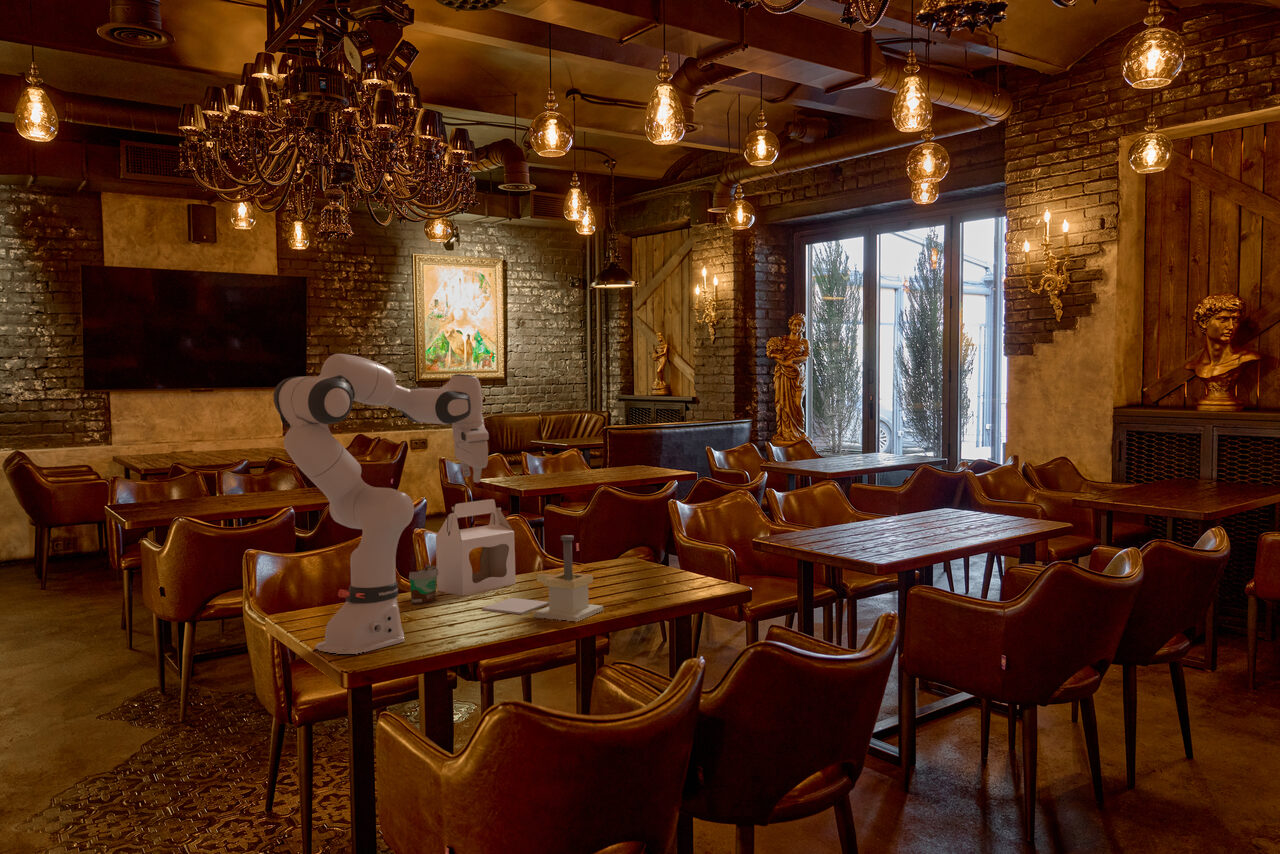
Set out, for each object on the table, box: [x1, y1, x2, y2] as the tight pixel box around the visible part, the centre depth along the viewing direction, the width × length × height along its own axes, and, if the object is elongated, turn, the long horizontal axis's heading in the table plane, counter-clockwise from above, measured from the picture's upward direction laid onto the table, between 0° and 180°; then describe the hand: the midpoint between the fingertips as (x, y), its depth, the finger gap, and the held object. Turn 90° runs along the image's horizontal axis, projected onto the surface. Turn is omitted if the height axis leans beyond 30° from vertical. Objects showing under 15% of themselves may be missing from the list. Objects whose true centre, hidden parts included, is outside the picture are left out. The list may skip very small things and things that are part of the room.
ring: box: [536, 571, 594, 589], centre depth 255 cm, size 10×15×2 cm, turn 62°
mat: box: [481, 597, 549, 615], centre depth 264 cm, size 14×14×1 cm
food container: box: [408, 564, 439, 606], centre depth 273 cm, size 12×6×10 cm, turn 168°
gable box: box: [435, 498, 517, 597], centre depth 291 cm, size 22×13×28 cm, turn 140°
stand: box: [533, 534, 604, 623], centre depth 253 cm, size 14×14×22 cm
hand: (471, 479), depth 257 cm, fingers open, 8 cm apart
